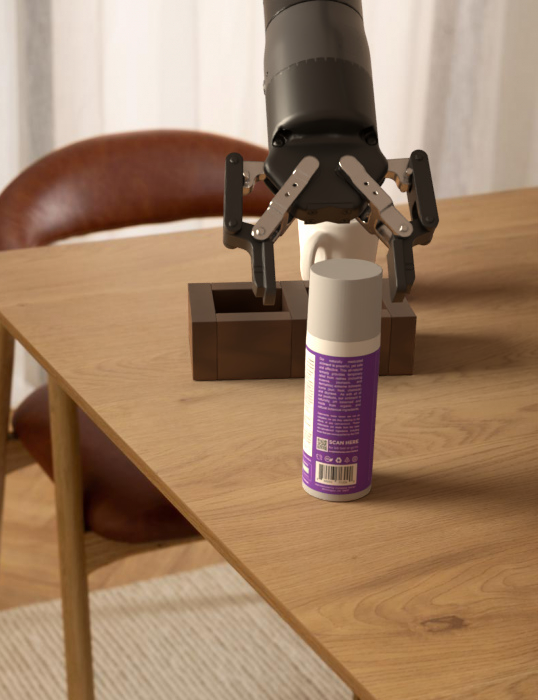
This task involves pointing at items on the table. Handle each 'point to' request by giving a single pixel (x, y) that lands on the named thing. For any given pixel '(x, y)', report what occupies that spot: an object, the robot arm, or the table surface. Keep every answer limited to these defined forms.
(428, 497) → the table surface
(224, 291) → the holder
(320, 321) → the container
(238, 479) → the table surface
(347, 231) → the cup
